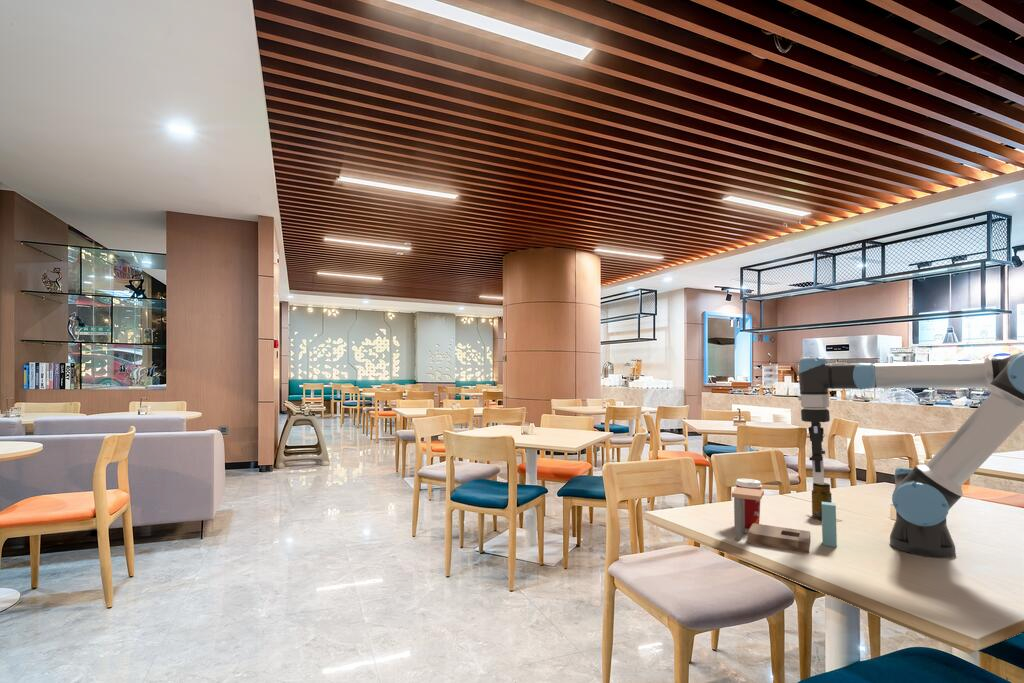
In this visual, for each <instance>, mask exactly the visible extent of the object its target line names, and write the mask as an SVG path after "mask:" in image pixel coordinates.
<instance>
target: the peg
mask: <svg viewBox="0 0 1024 683" xmlns="http://www.w3.org/2000/svg"><path fill="white" fill-rule="evenodd" d="M836 505H837V504H836V502H832V503H830V502H822V520H821V530H822V531H821V533H822V534H821V537H822V546H827V547H833V548H837V547H838V544H837V542H838V541H837V539H838V538H837V535H838V534H837V521H836V519H837V506H836Z"/></svg>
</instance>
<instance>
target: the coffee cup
mask: <svg viewBox="0 0 1024 683" xmlns="http://www.w3.org/2000/svg"><path fill="white" fill-rule="evenodd" d="M734 485H735V486H736V487H740V488H749V489H758V490H762V487H763V485H762V483H761V481H760V480H758V479H753V478H737V479H736V482H735V483H734ZM736 487H735V488H736ZM744 508H745V529H748V530H749V529H750V527H751V525H752V524H753V523H755V524H760V520H761V519H760V518H761V517H760V516H761V515H760V514H761V500H760V501H759V500H751V499H744Z"/></svg>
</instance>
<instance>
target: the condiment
mask: <svg viewBox="0 0 1024 683" xmlns="http://www.w3.org/2000/svg"><path fill="white" fill-rule="evenodd" d="M832 499H833V498H832V492H831V484H830V483H827V482H824V484H820V483H813V482H812V490H811V513H812V514H806V516H807V517H810V518H812V519H817V520H819V521H822V502H830V503H833V500H832ZM841 521H842V520H841V519H838V518H836V522H841Z"/></svg>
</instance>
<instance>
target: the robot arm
mask: <svg viewBox="0 0 1024 683" xmlns="http://www.w3.org/2000/svg"><path fill="white" fill-rule="evenodd" d="M798 382H799V395H800V397H799V396H798V397H797V400H798V402H799V401H800V407H801V408H802V409H801V410H800V417H801V418H800V419H801V421H803V422H806V423H810V426H809V427H808V429H807V430H808V435H809V441H810V442H811V456H809V457H808V458H809V459H808V460H809V461H811V465H812V466H811V468H812V484H813V483H820V484H824V483H825V470H824V468H825V467H824V465H825V464H824V455H826V451H825V450H824V449H823V444H822V443H823V442H824V432H825V431H824V427H822V424H821V423H828V422H830V421H831V418H830V410H829V409H828V408H830V398H829V396H830V395H829V390H834V389H836V390H839V389H840V390H858V389H859V390H866V389H867V390H868V389H869V390H870V389H877V388H878V389H879V388H881V389H888V388H889V389H890V388H891V389H892V388H893V389H897V388H900V389H902V388H904V389H906V388H907V389H908V388H909V389H911V388H912V389H913V388H915V389H917V388H920V389H922V388H923V389H924V388H926V389H927V388H928V389H930V388H932V389H936V388H937V389H947V388H949V389H955V388H956V389H957V388H958V389H960V388H962V389H963V388H965V389H967V388H968V389H971V388H973V389H974V388H977V389H987V390H989V391H990V394H989V395H988V396H987V397H986V399H985V400H983V402H982V403H981V404H980V405H979V406H978V407H977V408H976V410H974V412H972V414H971V415H970V416H969V417H968V418H967V419H966V421H964V423H963V424H962V425H960V427H959V428H958V429H957V430H956V431H955V433H953V434H952V436H951V437H950V438H949V439H948V440H947V442H945V444H943V445H942V447H941V448H940V449H939V450H938V451H937V452H936V453H935V455H934V456H932V457H931V459H930V460H928V462H927V463H925V464H916V465H915V466H914V467H913V468H910V467H909V468H908V467H907V468H906V467H897V468H896V469H895V470H894V471H895V472H894V476H893V477H894V481H895V486H894V490H893V493H892V494H891V495H892V496H891V500H892V505H893V507H894V509H895V511H896V513H895V514H896V515H895V517H896V518H895V521H894V523H893V527H892V529H891V531H890V535H889V544H890V545H891V547H893V548H895V549H897V550H900V551H903V552H906V553H910V554H915V555H918V556H919V555H920V556H923V557H925V556H926V557H932V558H933V557H934V558H952V557H955V556H956V554H957V553H956V545H955V543H954V540H953V538H952V536H951V533H950V531H949V530H950V529H949V528H948V525H947V516H948V515H949V511H950V510H951V508H952V507H953V506H955V504H956V503H957V502H958V501H959V500H960V499H961V498H962V497H963V496H964V494H963V490H962V486H963V485H964V484H965V483H966V482H967V481H968V480H969V479H970V478H971V476H972V475H973V474H974V473H975V472H977V470H978V469H979V468H980V467H981V466H982V465H983V464H984V463H985V462H986V461H987V460H988V459H989V458H990V457H991V456H992V455H993V454H994V453H995V451H997V449H998V448H999V447H1000V446H1001V445H1002V444H1003V443H1004V442H1005V441H1006V440H1007V439H1009V436H1011V435H1012V434H1013V432H1014V431H1015V430H1016V429H1017V428H1019V426H1021V424H1022V423H1023V422H1024V351H1023V352H1019V353H1015V354H1014V353H1013V354H1009V355H999V356H988V357H986V358H985V359H984V360H960V361H959V360H957V361H956V360H953V361H952V360H951V361H925V362H924V361H921V362H920V361H919V362H916V361H915V362H912V361H911V362H881V363H878V362H875V363H871V362H867V363H866V362H856V363H855V362H853V363H852V362H851V363H849V362H848V363H828V362H827V358H825V357H804V358H800V360H799V361H798Z"/></svg>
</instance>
